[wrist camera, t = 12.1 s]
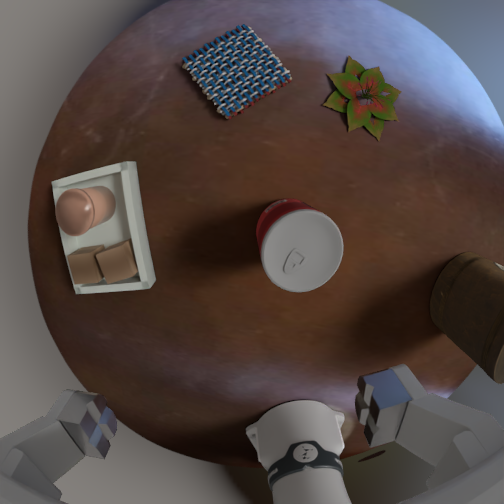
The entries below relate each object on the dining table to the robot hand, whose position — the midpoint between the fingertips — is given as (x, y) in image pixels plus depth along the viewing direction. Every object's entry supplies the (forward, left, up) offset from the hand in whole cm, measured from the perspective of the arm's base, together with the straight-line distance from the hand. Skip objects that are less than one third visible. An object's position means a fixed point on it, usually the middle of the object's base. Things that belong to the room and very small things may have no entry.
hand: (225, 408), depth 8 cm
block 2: (-2, +16, -29) cm, 33 cm away
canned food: (-1, -6, -30) cm, 30 cm away
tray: (+2, +18, -30) cm, 35 cm away
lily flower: (+16, -18, -30) cm, 39 cm away
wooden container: (-15, -37, -30) cm, 50 cm away
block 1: (-2, +21, -29) cm, 36 cm away
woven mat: (+20, -2, -30) cm, 36 cm away
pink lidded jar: (+5, +18, -29) cm, 34 cm away
